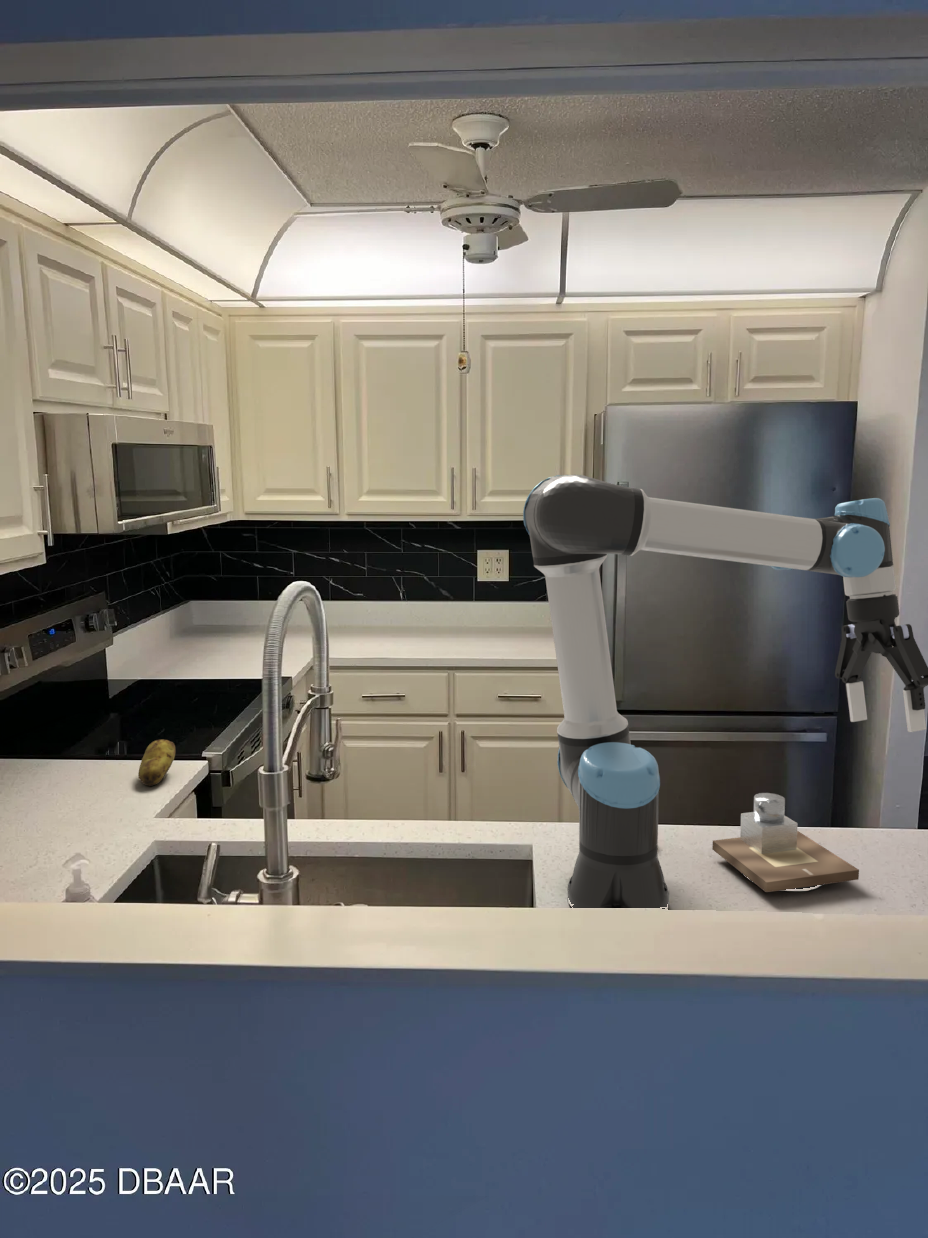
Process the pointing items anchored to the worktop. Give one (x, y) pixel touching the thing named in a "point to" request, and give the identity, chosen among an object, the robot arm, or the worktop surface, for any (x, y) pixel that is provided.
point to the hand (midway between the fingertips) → (886, 725)
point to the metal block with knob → (768, 825)
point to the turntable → (786, 864)
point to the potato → (156, 761)
